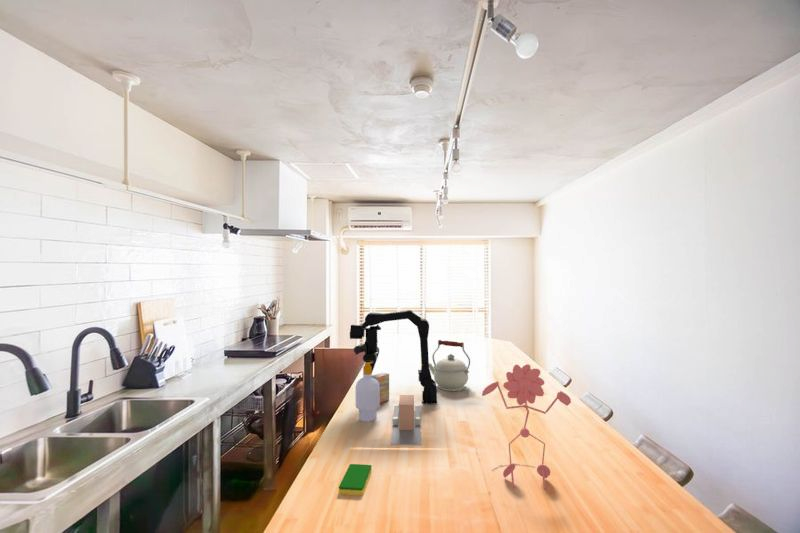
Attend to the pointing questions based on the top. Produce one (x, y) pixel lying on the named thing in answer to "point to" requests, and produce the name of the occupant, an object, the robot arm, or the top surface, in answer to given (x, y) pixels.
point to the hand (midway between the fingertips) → (371, 371)
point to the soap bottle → (367, 395)
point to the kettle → (450, 369)
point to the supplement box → (383, 385)
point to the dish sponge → (355, 479)
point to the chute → (406, 435)
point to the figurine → (525, 388)
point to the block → (406, 412)
